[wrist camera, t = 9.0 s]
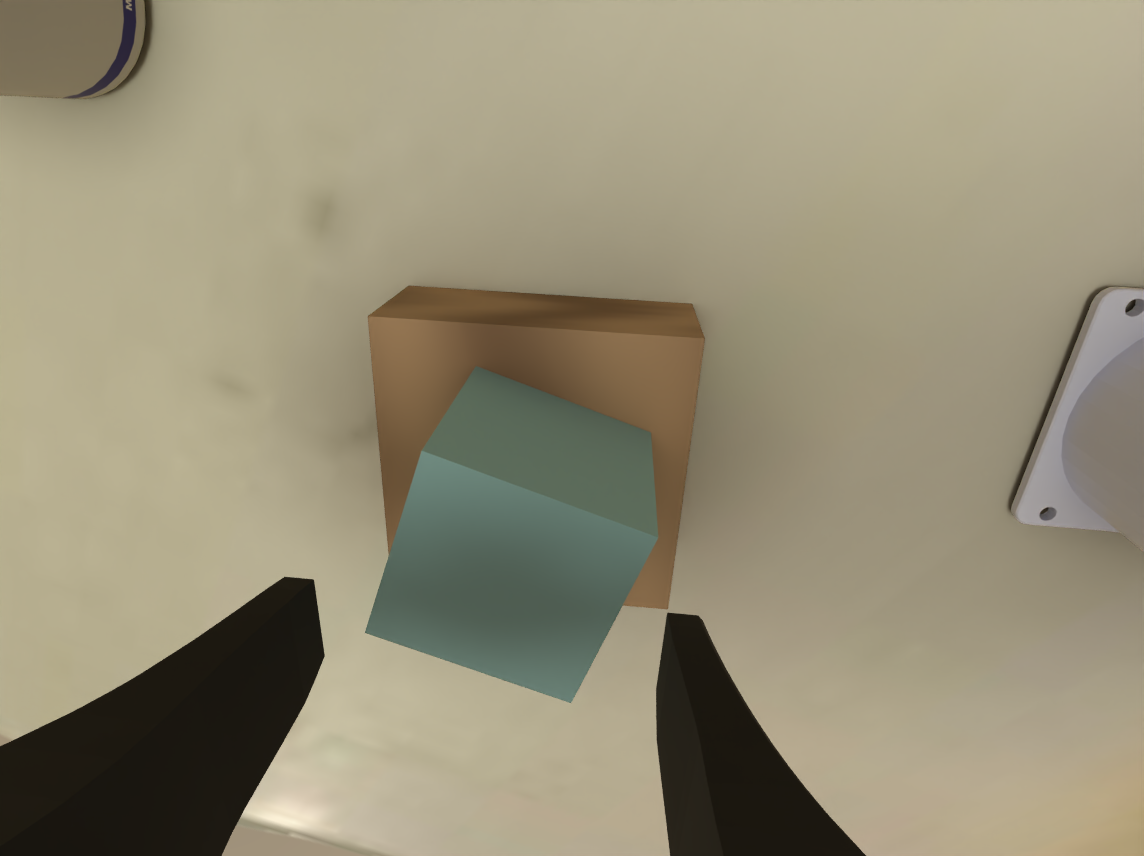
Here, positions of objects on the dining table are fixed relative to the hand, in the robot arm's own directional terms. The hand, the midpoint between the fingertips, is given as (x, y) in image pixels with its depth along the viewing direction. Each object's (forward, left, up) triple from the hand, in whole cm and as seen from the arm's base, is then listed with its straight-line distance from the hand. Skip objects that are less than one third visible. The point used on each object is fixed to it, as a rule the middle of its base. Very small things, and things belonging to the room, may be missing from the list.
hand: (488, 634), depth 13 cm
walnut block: (0, 0, -11) cm, 11 cm away
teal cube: (0, 0, -7) cm, 7 cm away
